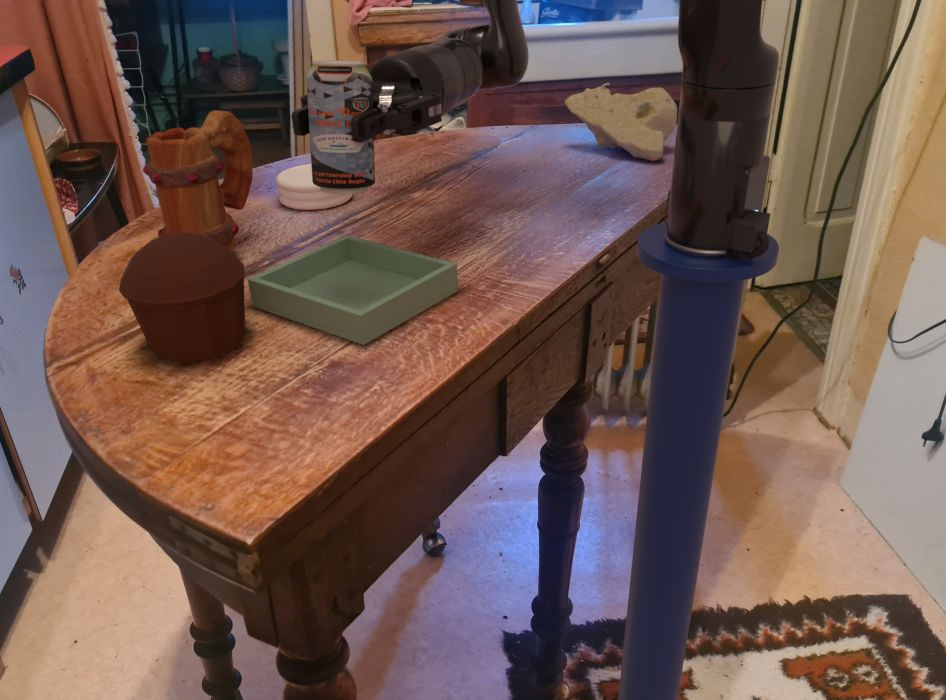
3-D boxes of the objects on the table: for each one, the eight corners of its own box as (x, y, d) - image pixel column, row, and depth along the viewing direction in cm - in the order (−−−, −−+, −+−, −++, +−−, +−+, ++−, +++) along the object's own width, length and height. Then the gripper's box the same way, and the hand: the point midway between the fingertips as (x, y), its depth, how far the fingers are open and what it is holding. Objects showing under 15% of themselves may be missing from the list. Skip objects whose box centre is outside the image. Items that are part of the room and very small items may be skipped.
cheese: (692, 167, 129) (662, 86, 133) (692, 141, 122) (661, 55, 126) (594, 202, 132) (568, 120, 136) (589, 177, 125) (562, 93, 129)
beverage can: (305, 202, 82) (286, 67, 75) (329, 178, 88) (313, 51, 81) (369, 204, 81) (355, 68, 74) (388, 179, 87) (377, 51, 80)
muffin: (260, 360, 78) (240, 256, 73) (134, 378, 76) (103, 273, 71) (253, 307, 88) (235, 212, 82) (141, 322, 86) (114, 226, 80)
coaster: (269, 195, 118) (265, 170, 116) (337, 183, 122) (333, 158, 120) (294, 216, 111) (290, 189, 109) (364, 202, 115) (362, 175, 113)
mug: (201, 280, 94) (170, 140, 86) (148, 268, 98) (113, 132, 89) (286, 236, 105) (265, 108, 96) (236, 226, 108) (212, 102, 100)
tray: (458, 291, 90) (456, 263, 88) (363, 345, 80) (360, 315, 79) (350, 260, 98) (346, 234, 96) (252, 306, 88) (247, 278, 86)
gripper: (355, 45, 91) (255, 79, 79) (475, 53, 86) (387, 90, 74) (362, 118, 96) (269, 161, 84) (477, 130, 90) (395, 177, 78)
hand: (325, 127), depth 79 cm, fingers closed on beverage can, 6 cm apart
